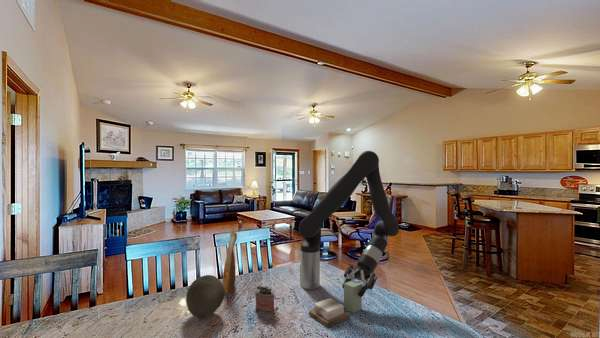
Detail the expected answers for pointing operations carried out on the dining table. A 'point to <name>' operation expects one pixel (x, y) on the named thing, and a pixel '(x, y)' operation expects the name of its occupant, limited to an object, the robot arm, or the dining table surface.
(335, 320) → the build base
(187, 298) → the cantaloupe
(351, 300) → the green post
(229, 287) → the pancake mix bag
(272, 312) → the lighter
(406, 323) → the dining table surface
